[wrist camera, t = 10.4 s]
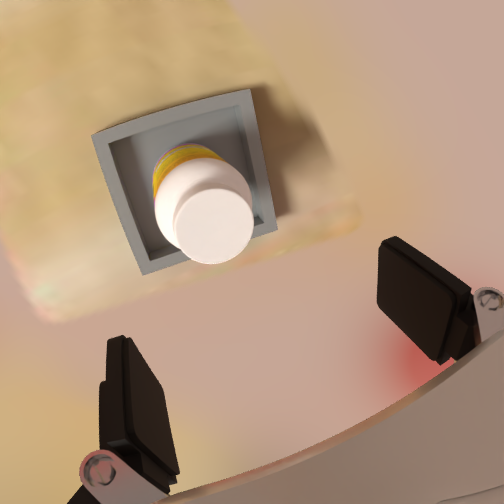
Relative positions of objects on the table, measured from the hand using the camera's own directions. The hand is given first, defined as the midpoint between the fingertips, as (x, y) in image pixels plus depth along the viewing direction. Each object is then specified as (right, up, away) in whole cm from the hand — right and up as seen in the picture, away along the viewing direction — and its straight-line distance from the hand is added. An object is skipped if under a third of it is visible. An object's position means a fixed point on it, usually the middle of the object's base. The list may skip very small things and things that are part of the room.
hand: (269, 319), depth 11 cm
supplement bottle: (-7, +9, +18) cm, 22 cm away
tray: (-7, +9, +19) cm, 22 cm away
